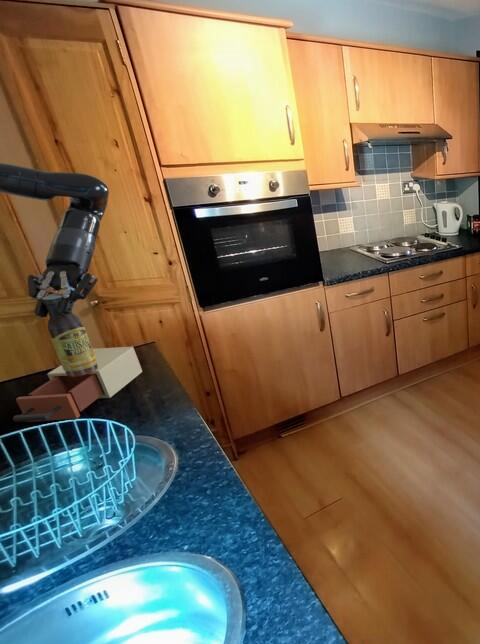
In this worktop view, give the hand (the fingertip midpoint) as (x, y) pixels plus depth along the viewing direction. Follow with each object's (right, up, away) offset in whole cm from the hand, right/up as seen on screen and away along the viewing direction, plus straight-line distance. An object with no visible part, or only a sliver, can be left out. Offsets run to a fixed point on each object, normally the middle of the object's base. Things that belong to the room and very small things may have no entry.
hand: (51, 315), depth 103 cm
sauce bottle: (0, -14, +8) cm, 16 cm away
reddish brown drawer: (-13, -25, +16) cm, 33 cm away
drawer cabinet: (-15, -21, +30) cm, 39 cm away
